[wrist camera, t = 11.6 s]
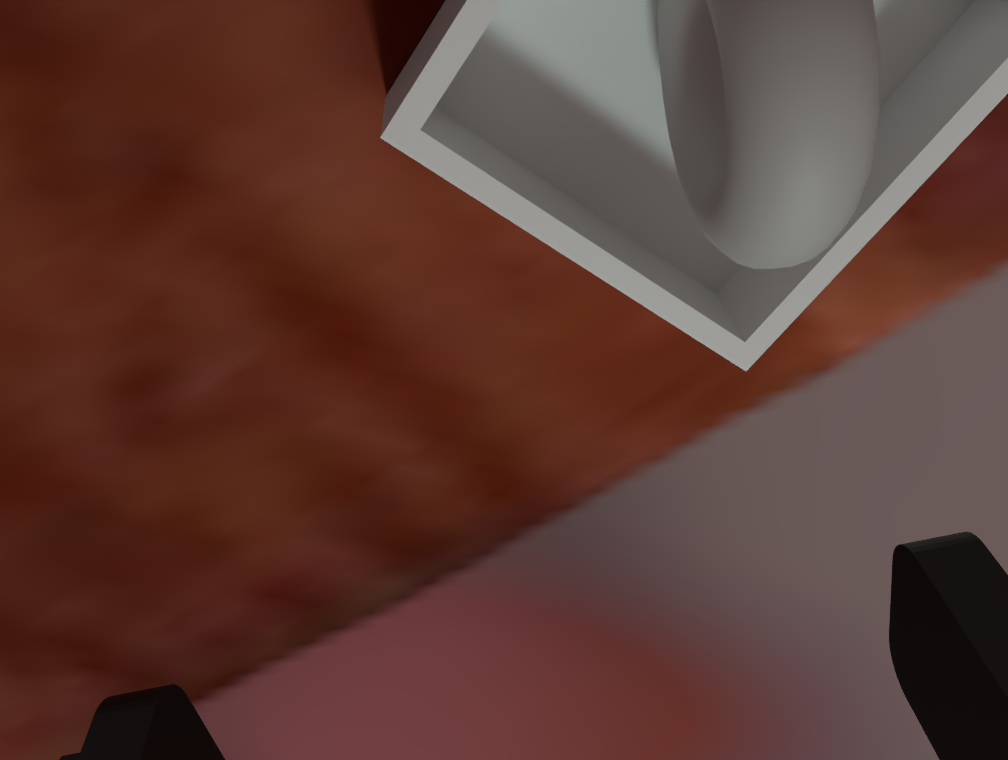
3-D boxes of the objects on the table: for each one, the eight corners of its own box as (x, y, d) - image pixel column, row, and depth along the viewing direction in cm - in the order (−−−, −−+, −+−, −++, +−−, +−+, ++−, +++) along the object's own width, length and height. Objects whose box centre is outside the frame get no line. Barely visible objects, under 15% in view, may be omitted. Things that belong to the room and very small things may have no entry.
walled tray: (386, 95, 29) (379, 137, 25) (670, -362, 23) (717, -398, 20) (710, 309, 34) (745, 371, 30) (1007, -27, 28) (1098, -3, 25)
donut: (760, 184, 30) (889, 326, 22) (658, 201, 30) (747, 350, 22) (759, -160, 25) (929, -149, 17) (636, -138, 25) (742, -115, 17)
